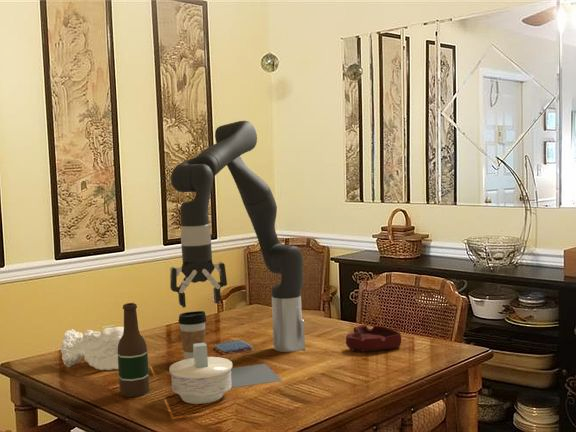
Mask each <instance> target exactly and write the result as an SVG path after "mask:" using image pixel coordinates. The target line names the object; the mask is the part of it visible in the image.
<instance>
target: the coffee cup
mask: <svg viewBox="0 0 576 432" xmlns="http://www.w3.org/2000/svg"><path fill="white" fill-rule="evenodd" d="M206 322H207V316H206V312H205V310H204V311H203V310H201V311H200V310H199V311H198V310H197V311H196V310H195V311H188V312H186V311H185V312H183V313H180V314H179V315H178V324H179V327H180V329H179V331H180V339H181V344H182V351H183V358H184V359H183V360H185V359H190V358H194V351H193V344H197V343H205V344H206V332H207V331H206V330H207V327H206Z"/></svg>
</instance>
